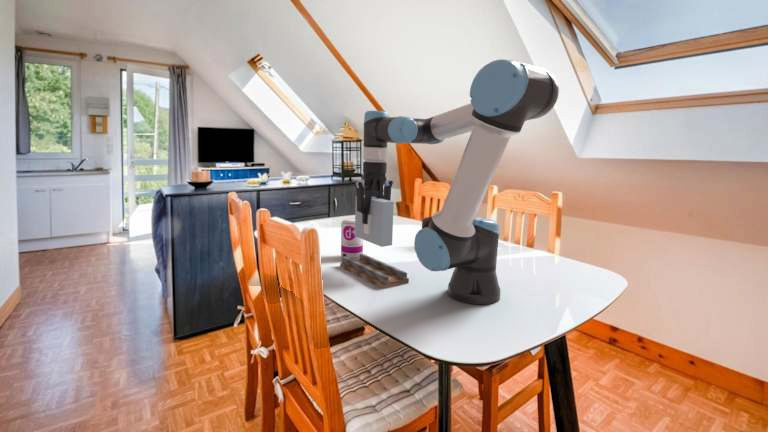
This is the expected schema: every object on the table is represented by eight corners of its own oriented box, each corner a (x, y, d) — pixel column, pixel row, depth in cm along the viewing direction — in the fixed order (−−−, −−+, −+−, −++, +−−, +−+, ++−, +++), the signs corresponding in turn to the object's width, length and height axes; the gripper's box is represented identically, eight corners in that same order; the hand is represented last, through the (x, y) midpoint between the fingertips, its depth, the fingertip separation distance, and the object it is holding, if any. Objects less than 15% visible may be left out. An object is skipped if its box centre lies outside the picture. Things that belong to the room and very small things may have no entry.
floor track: (408, 283, 128) (409, 272, 128) (382, 288, 123) (383, 277, 122) (364, 262, 149) (364, 253, 149) (340, 266, 144) (340, 257, 143)
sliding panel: (392, 245, 129) (393, 201, 126) (381, 246, 127) (383, 202, 124) (364, 234, 142) (365, 195, 139) (354, 236, 139) (355, 195, 137)
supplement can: (359, 262, 150) (360, 222, 147) (338, 260, 151) (338, 220, 148) (365, 256, 157) (365, 218, 155) (344, 254, 159) (344, 216, 156)
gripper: (389, 160, 137) (387, 227, 142) (345, 160, 127) (344, 233, 132) (403, 161, 131) (400, 232, 136) (358, 162, 121) (356, 238, 126)
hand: (373, 232), depth 134 cm, fingers closed on sliding panel, 4 cm apart
